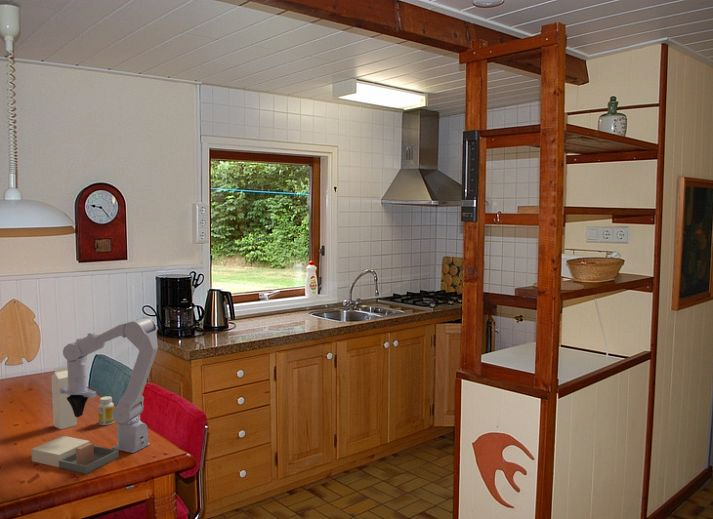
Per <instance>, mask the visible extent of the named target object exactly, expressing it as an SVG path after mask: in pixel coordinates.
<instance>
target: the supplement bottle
mask: <svg viewBox="0 0 713 519" xmlns="http://www.w3.org/2000/svg"><path fill="white" fill-rule="evenodd" d="M112 401H113V397H112V396H106V395H105V396H102V397H100V399H99V404H98V405H97V406H98V407H97V409H98V410H97V411H98V424H99V426H108V425H112V424H113V423H115V421H114V419H113V417H112V411H113V409H114V408H115V405H114V402H112Z"/></svg>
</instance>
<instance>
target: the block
mask: <svg viewBox="0 0 713 519" xmlns="http://www.w3.org/2000/svg"><path fill="white" fill-rule="evenodd" d="M92 459H94V443H92V442H90V443H87V444H84V445H82V446H80V447H78V448H76V462H77V464H81V465H82V464H84V463H86V462H88V461H90V460H92Z"/></svg>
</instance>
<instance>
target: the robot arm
mask: <svg viewBox="0 0 713 519" xmlns="http://www.w3.org/2000/svg"><path fill="white" fill-rule="evenodd" d="M158 329H159V328H158V325H157V324H156V322H155V321H154V320H153V319H152V318H151V317H148V316H143V317H141V318H139V319H138V318H137V319H134V320H131V321H127V322H124V323H121V324H118V325H116V326H114V327H111V329H108V330H106V331H104V332H102V333H99V332H93V331H91V332H89V333H87V335H86V336H85V337H82V338H81V337H79V338H76V340H75V341H74V342H70V343H68V344H66V345H65V346H64V347H63V349H62V355H63V357H64V358H65V359H66V362H67V363H66V364H67V365H66V366H67V370H68V387H65V386H64V387H61V388H60V393H61V394H63V393H66V394H67V395H70V396H69V397H67V400H68V402H69V403H70V405H71V407H72V409H73V412H74V415H75V417H77V418H80V417H82V416H83V415H84V410H85V408H86V407H85V406H86V403H87V401H88V400H89V399H95V398H97V391H96V390H95V391H94V390H92V389H90V388H88V383H87V382H88V381H87V356H88V355H90V354H92V353H95V352H97V351H99V350H101V349H103V348H104V346H105V344H106V343H107V342H110V341H111V340H113V339H116V338H119V337H122V338H123V339H124V338H126V339H127V340H128V341H129V342H130V343H131V344H132V345H134V347H136V349H137V350H138V354H137V357H136V360H135V362H134V366H133V368H132V371H131V374H130V378H129V380H128V383H127V387H126V389H125V392H124V394H123V395H122V396H121V398H120V399H119V400H118V403H117V405H115V406H114V409H113V411H112V417H113V419H114V423H116V429H117V430H116V432H117V433H116V434H117V436H116V437H117V443H116V444H115V445H114V446H111V449H114V450H119V451H122V452H127V453H131V454H132V453H136V452H138V451H140V450H143V449H144V448H146V447H148V446H149V445H150V444H151V443H150V442H149V429H148V425H147V424H146V423H145V422H143V421H141V414H142V413H143V411H144V401H145V400H144V399H145V397H144V396H143V393H144V390H145V387H146V384H147V381H148V379H149V376H150V373H151V370H152V366H153V364H154V362H155V358H156V355H157V354H158V349H159V346H158V338H157V332H158Z"/></svg>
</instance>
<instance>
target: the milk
mask: <svg viewBox="0 0 713 519" xmlns="http://www.w3.org/2000/svg"><path fill="white" fill-rule="evenodd" d="M50 377H51V398H52V399H51V400H52V401H51V402H52V419H53V420H52V422H53V424H52V425H53V427H55V428H57V429H58V430H64V429H68V428H71V427H76V426H77V424H78V421H77V420H78V417H75V415H74V412H73V409H72V407H71V405H70V403H69V402H68V400H67V397H69V396H70V395H67V394H66V393H63V394H61V393H60V388H61V387H64V386H65V387H68V370H67V365H66V366H61V367H57V368H55V369H54V373H53V374H52V375H51V376H50Z"/></svg>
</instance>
